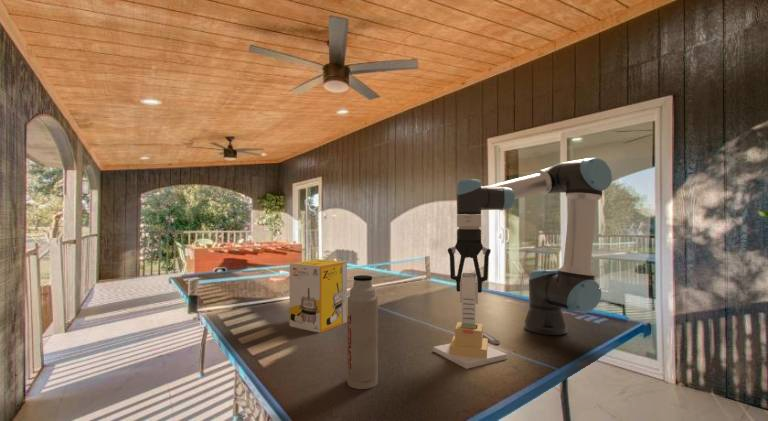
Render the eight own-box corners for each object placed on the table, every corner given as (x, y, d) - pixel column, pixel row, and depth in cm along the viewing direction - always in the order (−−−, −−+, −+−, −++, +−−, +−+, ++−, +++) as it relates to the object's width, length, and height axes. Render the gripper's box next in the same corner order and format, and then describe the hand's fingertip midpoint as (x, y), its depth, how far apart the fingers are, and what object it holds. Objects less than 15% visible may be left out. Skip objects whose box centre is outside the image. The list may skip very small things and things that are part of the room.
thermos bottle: (347, 389, 96) (347, 278, 96) (347, 376, 104) (347, 273, 104) (378, 388, 97) (378, 278, 97) (376, 375, 105) (376, 273, 105)
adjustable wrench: (502, 346, 130) (502, 340, 130) (484, 347, 129) (484, 342, 129) (472, 324, 155) (472, 320, 155) (457, 325, 154) (457, 321, 154)
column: (476, 328, 122) (476, 273, 122) (475, 332, 117) (475, 275, 118) (463, 327, 123) (462, 272, 123) (461, 331, 119) (461, 274, 119)
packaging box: (346, 322, 156) (347, 261, 157) (320, 333, 143) (320, 266, 143) (317, 317, 165) (317, 259, 165) (289, 326, 151) (289, 263, 152)
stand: (506, 346, 128) (506, 319, 128) (507, 373, 106) (507, 341, 106) (438, 340, 134) (438, 314, 134) (427, 364, 113) (427, 333, 113)
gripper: (440, 228, 119) (440, 303, 119) (497, 228, 115) (497, 306, 114) (443, 227, 127) (443, 298, 126) (497, 228, 122) (497, 301, 121)
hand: (469, 302), depth 120 cm, fingers closed on column, 4 cm apart
